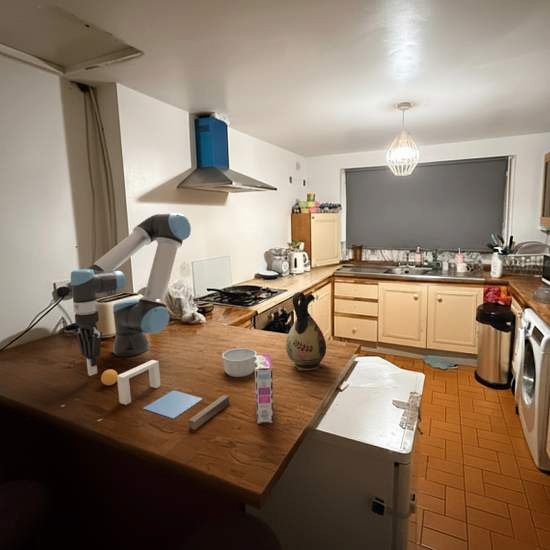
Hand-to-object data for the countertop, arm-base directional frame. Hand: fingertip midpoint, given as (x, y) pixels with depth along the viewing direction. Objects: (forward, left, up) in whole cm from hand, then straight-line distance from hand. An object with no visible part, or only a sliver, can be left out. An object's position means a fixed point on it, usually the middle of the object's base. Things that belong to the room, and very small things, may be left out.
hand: (92, 373), depth 132 cm
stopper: (+56, 0, -2) cm, 56 cm away
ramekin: (+46, +30, -3) cm, 55 cm away
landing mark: (+41, 0, -2) cm, 41 cm away
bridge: (+26, 0, -2) cm, 26 cm away
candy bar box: (+70, +8, -3) cm, 70 cm away
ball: (+10, 0, 0) cm, 10 cm away
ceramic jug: (+67, +44, -3) cm, 80 cm away
